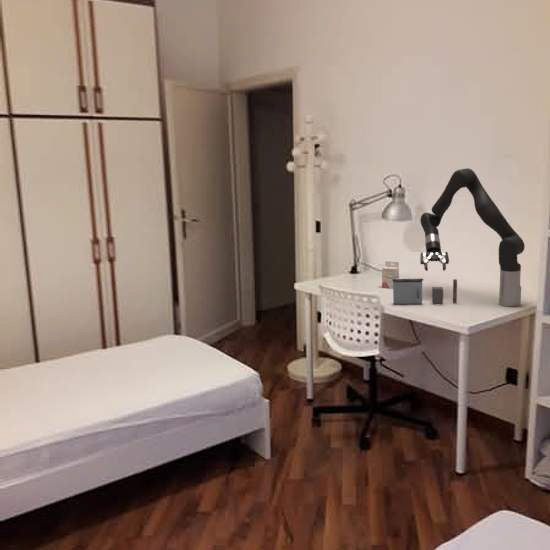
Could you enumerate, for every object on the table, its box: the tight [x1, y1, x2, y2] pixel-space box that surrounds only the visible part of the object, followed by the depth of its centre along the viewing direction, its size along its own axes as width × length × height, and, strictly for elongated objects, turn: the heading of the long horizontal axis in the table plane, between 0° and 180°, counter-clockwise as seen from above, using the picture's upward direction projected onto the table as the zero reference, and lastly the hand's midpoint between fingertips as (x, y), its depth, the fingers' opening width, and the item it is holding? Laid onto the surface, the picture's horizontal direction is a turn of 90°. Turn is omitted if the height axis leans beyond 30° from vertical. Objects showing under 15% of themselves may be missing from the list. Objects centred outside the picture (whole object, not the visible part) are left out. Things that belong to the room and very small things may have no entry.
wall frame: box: [392, 278, 458, 303], centre depth 289 cm, size 32×4×13 cm, turn 82°
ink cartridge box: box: [381, 261, 400, 289], centre depth 327 cm, size 9×5×15 cm, turn 56°
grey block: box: [394, 281, 423, 305], centre depth 289 cm, size 14×2×11 cm, turn 82°
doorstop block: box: [431, 286, 444, 306], centre depth 289 cm, size 5×5×8 cm
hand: (435, 269), depth 295 cm, fingers open, 8 cm apart
